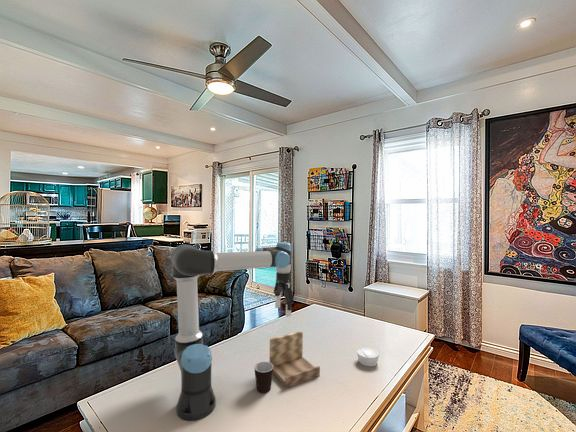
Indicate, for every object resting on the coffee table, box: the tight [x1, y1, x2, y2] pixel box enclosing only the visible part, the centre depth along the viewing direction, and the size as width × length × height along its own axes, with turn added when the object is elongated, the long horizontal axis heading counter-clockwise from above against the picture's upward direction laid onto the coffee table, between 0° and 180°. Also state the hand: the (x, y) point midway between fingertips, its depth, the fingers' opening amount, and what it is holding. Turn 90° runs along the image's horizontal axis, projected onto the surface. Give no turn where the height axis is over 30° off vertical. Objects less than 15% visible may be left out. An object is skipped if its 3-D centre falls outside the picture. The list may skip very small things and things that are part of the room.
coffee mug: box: [253, 361, 274, 394], centre depth 130 cm, size 12×9×10 cm
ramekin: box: [356, 347, 380, 368], centre depth 152 cm, size 11×11×5 cm
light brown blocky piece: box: [269, 330, 321, 389], centre depth 141 cm, size 19×16×16 cm
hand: (282, 311), depth 151 cm, fingers open, 13 cm apart
